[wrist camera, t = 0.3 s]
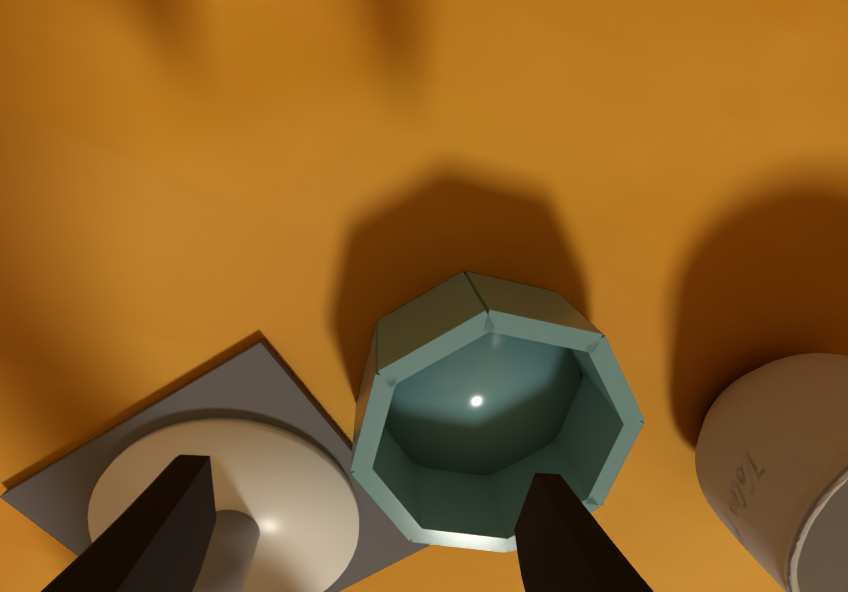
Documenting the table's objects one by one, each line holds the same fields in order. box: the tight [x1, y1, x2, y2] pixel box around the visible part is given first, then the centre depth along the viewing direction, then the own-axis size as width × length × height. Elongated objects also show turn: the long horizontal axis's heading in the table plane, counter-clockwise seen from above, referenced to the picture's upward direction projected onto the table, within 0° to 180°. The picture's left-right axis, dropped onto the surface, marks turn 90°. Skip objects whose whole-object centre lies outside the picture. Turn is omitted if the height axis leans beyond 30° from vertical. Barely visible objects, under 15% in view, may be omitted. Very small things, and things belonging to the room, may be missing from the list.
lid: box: [88, 418, 359, 592], centre depth 21 cm, size 13×13×5 cm
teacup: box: [695, 353, 848, 592], centre depth 21 cm, size 14×11×8 cm
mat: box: [0, 339, 430, 592], centre depth 23 cm, size 15×15×1 cm
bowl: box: [351, 271, 644, 553], centre depth 19 cm, size 11×11×4 cm
